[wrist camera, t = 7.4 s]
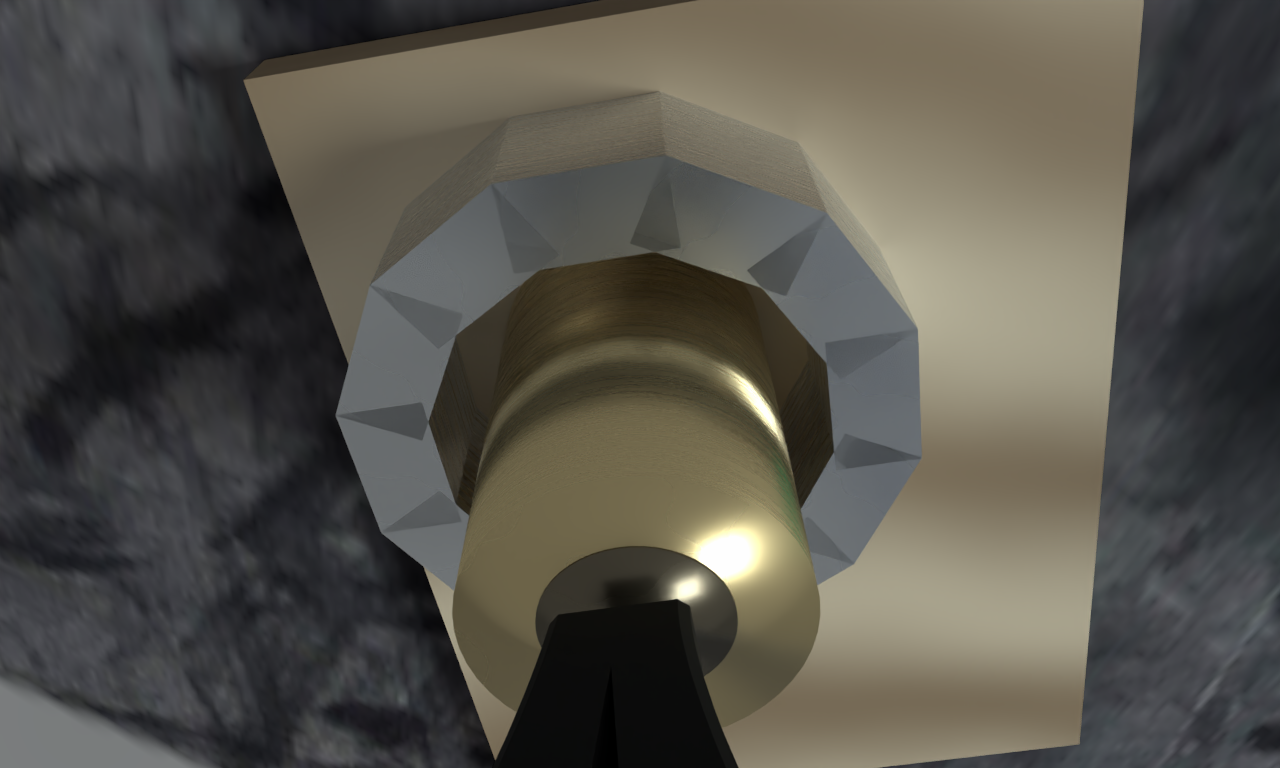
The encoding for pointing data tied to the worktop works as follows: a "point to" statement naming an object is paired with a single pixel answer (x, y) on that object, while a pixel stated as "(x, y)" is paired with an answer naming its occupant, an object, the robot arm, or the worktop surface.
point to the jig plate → (921, 266)
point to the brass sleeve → (637, 479)
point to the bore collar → (618, 227)
